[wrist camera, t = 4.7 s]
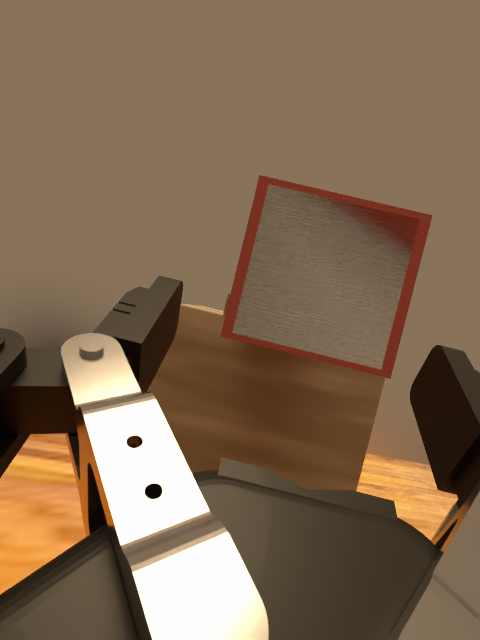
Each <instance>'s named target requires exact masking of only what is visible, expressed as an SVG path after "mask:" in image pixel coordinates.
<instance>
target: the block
mask: <svg viewBox="0 0 480 640" xmlns="http://www.w3.org/2000/svg"><path fill="white" fill-rule="evenodd" d="M431 218H432V215H428V214H424V213H419V212H415V211H411V210H407V209H402V208H398V207H394V206H390V205H385V204H381V203H377V202H372V201H368V200H364V199H359V198H355V197H351V196H347V195H342V194H338V193H334V192H329V191H325V190H321V189H317V188H312V187H308V186H303V185H300V184H295V183H291V182H286V181H282V180H278V179H273V178H270V177H265V176H261V175H260V176H259V180H258V184H257V188H256V192H255V196H254V200H253V204H252V209H251V213H250V217H249V221H248V225H247V229H246V233H245V237H244V241H243V245H242V249H241V254H240V258H239V262H238V266H237V270H236V274H235V278H234V283H233V286H232V290H231V295H230V299H229V303H228V307H227V311H226V315H225V319H224V323H223V327H222V331H221V336H220V337H224V338H228V339H233V340H237V341H241V342H245V343H249V344H253V345H257V346H261V347H265V348H269V349H273V350H277V351H281V352H285V353H289V354H293V355H297V356H301V357H305V358H309V359H313V360H317V361H321V362H325V363H329V364H333V365H337V366H341V367H345V368H349V369H354V370H358V371H362V372H366V373H370V374H374V375H378V376H382V377H386V378H391V374H392V370H393V366H394V362H395V359H396V355H397V351H398V347H399V343H400V339H401V335H402V331H403V328H404V324H405V320H406V316H407V312H408V308H409V304H410V300H411V296H412V293H413V289H414V285H415V281H416V277H417V272H418V269H419V265H420V261H421V257H422V254H423V249H424V246H425V242H426V238H427V234H428V230H429V226H430V223H431Z"/></svg>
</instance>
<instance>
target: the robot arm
mask: <svg viewBox="0 0 480 640" xmlns="http://www.w3.org/2000/svg"><path fill="white" fill-rule="evenodd" d="M182 290H183V282H182V281H179V280H175V279H171V278H166V277H163V276H159V277H158V278H157V279H156V280H155V282H154V283H153V284H152V286H151V287H150V288H149V289H147V288H143V287H138V288H135V289H133V290H131V291H129V292H127V293H126V294H125V295H124V296H123V297H122V298H121V300H120V301H119V303H118V304H116V305H115V307H114V308H113V310H111V311H110V312H109V314H108V315H107V316H106V317H105V318H104V320H103V321H102V322H101V323H100V324H99V325H98V327H97V328H96V329H95V330H94V331H93V332H92V333H87V334H81V335H77V336H75V337H72V338H70V339H69V340H68V341H66V342H65V343H64V344H63V346H62V348H61V349H34V348H33V349H32V348H26V347H25V340H24V338H23V337H22V336H21V335H20V334H19V333H17V332H15V331H12V330H9V329H1V328H0V478H1V476H2V475H3V473H4V472H5V470H6V469H7V467H8V466H9V464H10V463H11V462H12V460H13V459H14V457H15V456H16V454H17V453H18V451H19V450H20V449H21V447H22V446H23V444H24V443H25V441H26V440H27V438H28V437H29V436H30V434H53V433H65V435H66V439H67V443H68V447H69V452H70V456H71V460H72V465H73V469H74V473H75V477H76V482H77V486H78V491H79V496H80V503H81V511H82V518H83V523H84V529H85V533H86V538H84V539H83V540H81V541H80V542H78V543H77V544H75V545H74V546H72V547H71V548H69V549H68V550H66V551H65V552H63V553H62V554H60V555H59V556H57V557H56V558H54V559H53V560H51V561H50V562H48V563H47V564H45V565H44V566H42V567H41V568H39V569H38V570H36V571H35V572H33V573H32V574H30V575H29V576H27V577H26V578H25V579H23V580H22V581H20V582H19V583H17V584H16V585H14V586H13V587H11V588H10V589H8V590H7V591H5V592H4V593H2V594H1V595H0V640H480V373H479V372H478V371H476V370H474V368H473V366H472V364H471V363H470V361H469V359H468V358H467V355H466V354H465V352H463V351H461V350H457V349H453V348H449V347H445V346H441V345H437V346H435V347H434V348H433V349H432V350H431V351H430V353H429V355H428V357H427V359H426V360H425V362H424V364H423V366H422V368H421V370H420V371H419V373H418V375H417V377H416V378H415V380H414V382H413V384H412V387H411V391H410V401H411V405H412V408H413V411H414V415H415V418H416V421H417V424H418V428H419V431H420V434H421V437H422V440H423V443H424V447H425V450H426V453H427V456H428V460H429V463H430V466H431V469H432V473H433V476H434V479H435V482H436V485H437V489H438V490H440V491H444V492H448V493H452V494H456V495H457V496H458V500H457V502H456V503H455V504H454V505H453V507H452V508H451V509H450V511H449V513H448V514H447V516H446V517H445V519H444V521H443V522H442V524H441V525H440V527H439V528H438V530H437V532H436V533H435V535H434V536H433V538H432V540H431V541H430V540H429V539H428V538H427V537H426V536H425V535H423V534H422V533H421V532H420V531H418V530H417V529H416V528H414V527H413V526H411V525H410V524H408V523H406V522H405V521H403V520H401V519H400V518H398V517H397V514H396V509H395V504H394V501H391V500H387V499H383V498H380V497H376V496H372V495H368V494H364V493H360V492H356V491H352V490H312V489H306V488H303V487H301V486H299V485H297V484H295V483H293V482H291V481H289V480H287V479H285V478H283V477H281V476H279V475H277V474H275V473H273V472H271V471H269V470H267V469H265V468H262V467H258V466H254V465H250V464H247V463H243V462H239V461H235V460H231V459H227V458H223V457H222V458H221V461H220V465H219V469H218V470H207V471H199V472H194V473H191V471H190V469H189V467H188V465H187V463H186V461H185V459H184V456H183V454H182V452H181V450H180V448H179V446H178V444H177V442H176V440H175V438H174V436H173V433H172V431H171V429H170V427H169V425H168V423H167V421H166V419H165V417H164V415H163V413H162V411H161V408H160V406H159V404H158V402H157V400H156V398H155V396H154V395H153V394H152V393H151V392H147V390H148V388H149V387H150V385H151V383H152V381H153V379H154V377H155V375H156V373H157V371H158V369H159V367H160V365H161V363H162V361H163V360H164V358H165V356H166V354H167V352H168V350H169V348H170V346H171V344H172V342H173V340H174V337H175V334H176V331H177V326H178V320H179V313H180V305H181V297H182Z"/></svg>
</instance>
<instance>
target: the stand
mask: <svg viewBox="0 0 480 640" xmlns="http://www.w3.org/2000/svg"><path fill="white" fill-rule="evenodd" d="M230 295H231V294H228V297H227V301H226V305H225V310H224V311H220V310H216V309H212V308H208V307H204V306H197V305H187V304H181V305H180V313H179V320H178V326H177V331H176V334H175V337H174V340H173V342H172V344H171V346H170V348H169V350H168V352H167V354H166V356H165V358H164V360H163V361H162V363H161V365H160V367H159V369H158V371H157V373H156V375H155V377H154V379H153V381H152V383H151V385H150V389H149V392H151V393H152V394H153V395H154V396H155V398H156V400H157V402H158V404H159V406H160V408H161V411H162V413H163V415H164V417H165V419H166V421H167V423H168V425H169V427H170V429H171V431H172V433H173V436H174V438H175V440H176V442H177V444H178V446H179V448H180V450H181V452H182V454H183V456H184V459H185V461H186V463H187V465H188V467H189V469H190V471H191V473H194V472H199V471H207V470H218V469H219V465H220V461H221V458H222V457H223V458H227V459H231V460H235V461H239V462H243V463H247V464H250V465H254V466H258V467H262V468H265V469H267V470H269V471H271V472H273V473H275V474H277V475H279V476H281V477H283V478H285V479H287V480H289V481H291V482H293V483H295V484H297V485H299V486H301V487H303V488H306V489H312V490H352V491H356V490H357V486H358V482H359V478H360V474H361V470H362V466H363V462H364V459H365V455H366V451H367V447H368V443H369V439H370V435H371V431H372V427H373V423H374V420H375V416H376V411H377V408H378V404H379V400H380V396H381V392H382V388H383V384H384V381H385V377H382V376H378V375H374V374H370V373H366V372H362V371H358V370H354V369H349V368H345V367H341V366H337V365H333V364H329V363H325V362H321V361H317V360H313V359H309V358H305V357H301V356H297V355H293V354H289V353H285V352H281V351H277V350H273V349H269V348H265V347H261V346H257V345H253V344H249V343H245V342H241V341H237V340H233V339H228V338H224V337H220V336H221V331H222V327H223V323H224V319H225V315H226V311H227V307H228V303H229V299H230Z"/></svg>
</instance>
